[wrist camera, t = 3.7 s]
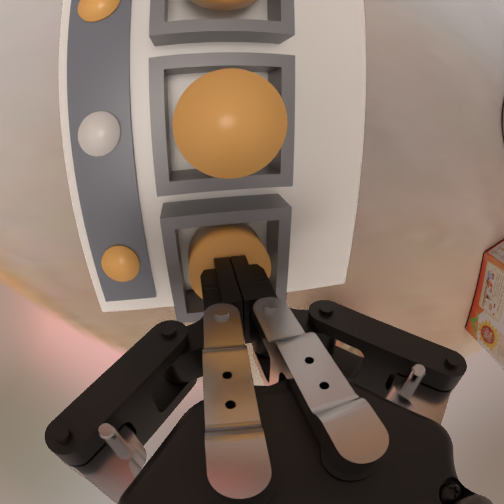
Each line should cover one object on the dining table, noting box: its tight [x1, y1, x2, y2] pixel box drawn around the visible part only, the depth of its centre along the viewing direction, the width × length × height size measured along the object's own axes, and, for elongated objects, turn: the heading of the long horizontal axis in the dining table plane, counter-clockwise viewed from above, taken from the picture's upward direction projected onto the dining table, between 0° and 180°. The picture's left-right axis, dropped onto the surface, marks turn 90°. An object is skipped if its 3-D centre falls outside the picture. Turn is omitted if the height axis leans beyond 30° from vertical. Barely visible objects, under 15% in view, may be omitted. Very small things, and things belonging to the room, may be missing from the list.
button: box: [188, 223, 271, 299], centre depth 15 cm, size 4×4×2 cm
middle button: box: [173, 68, 288, 179], centre depth 10 cm, size 4×4×2 cm
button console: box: [59, 0, 366, 323], centre depth 13 cm, size 16×21×5 cm
